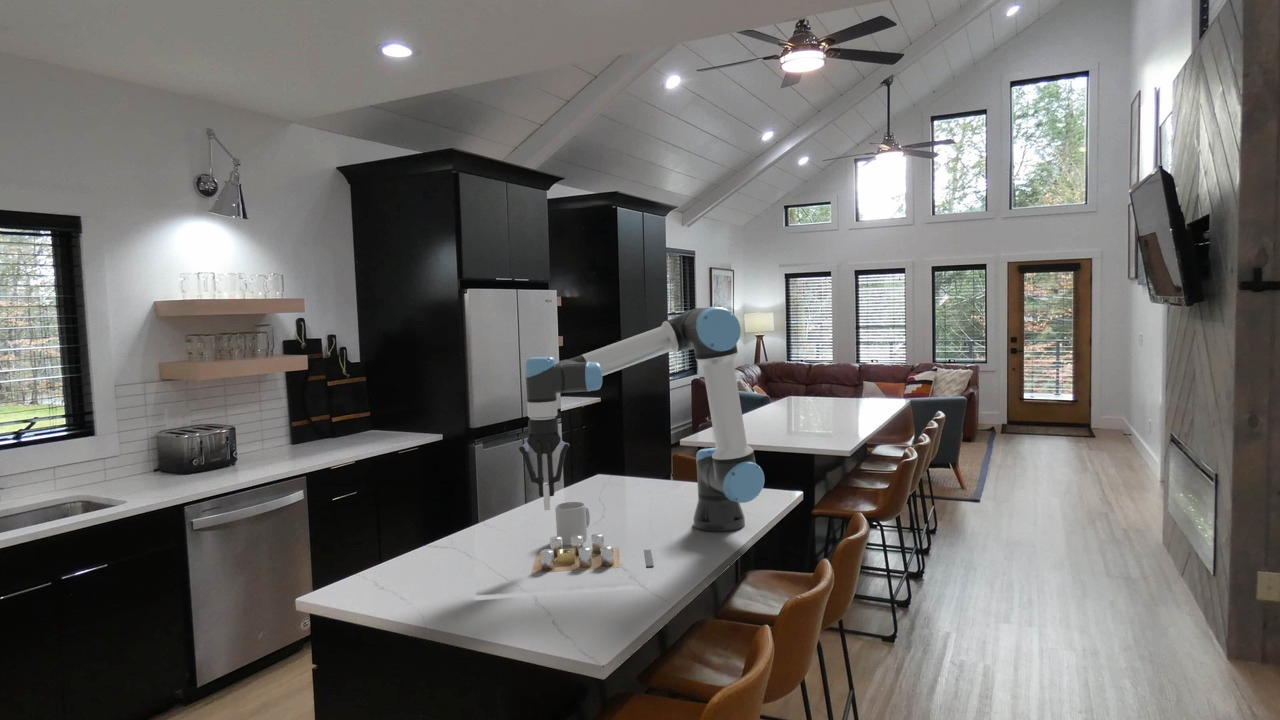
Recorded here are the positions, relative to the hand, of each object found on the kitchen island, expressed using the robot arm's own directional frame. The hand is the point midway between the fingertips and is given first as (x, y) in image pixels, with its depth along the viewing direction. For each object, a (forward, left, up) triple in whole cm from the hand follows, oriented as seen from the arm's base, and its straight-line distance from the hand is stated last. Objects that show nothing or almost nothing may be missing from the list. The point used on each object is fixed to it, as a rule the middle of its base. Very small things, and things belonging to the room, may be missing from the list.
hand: (547, 508), depth 193 cm
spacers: (-7, 0, -14) cm, 16 cm away
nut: (-4, 0, -14) cm, 15 cm away
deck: (-7, 0, -15) cm, 16 cm away
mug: (-6, -19, -15) cm, 25 cm away
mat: (-22, 0, -15) cm, 27 cm away
